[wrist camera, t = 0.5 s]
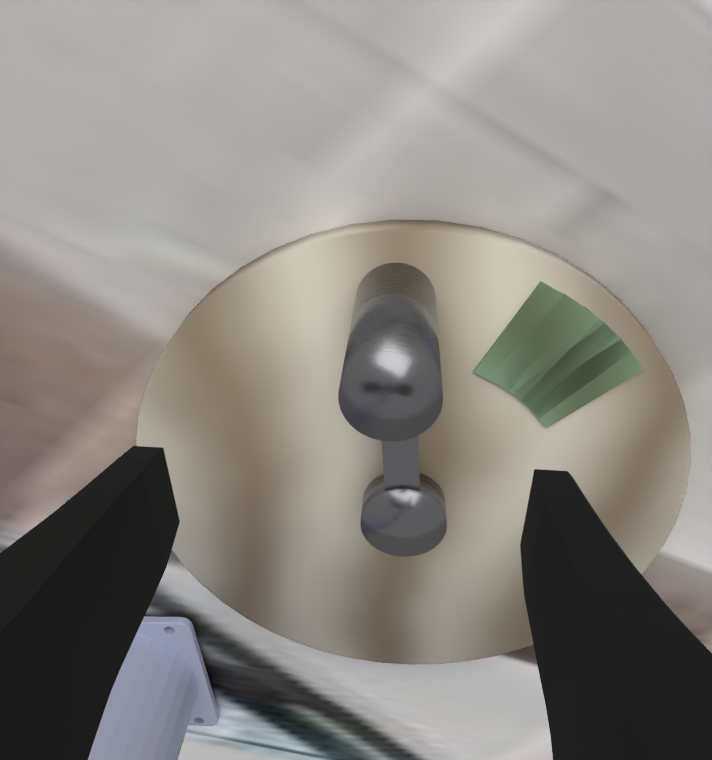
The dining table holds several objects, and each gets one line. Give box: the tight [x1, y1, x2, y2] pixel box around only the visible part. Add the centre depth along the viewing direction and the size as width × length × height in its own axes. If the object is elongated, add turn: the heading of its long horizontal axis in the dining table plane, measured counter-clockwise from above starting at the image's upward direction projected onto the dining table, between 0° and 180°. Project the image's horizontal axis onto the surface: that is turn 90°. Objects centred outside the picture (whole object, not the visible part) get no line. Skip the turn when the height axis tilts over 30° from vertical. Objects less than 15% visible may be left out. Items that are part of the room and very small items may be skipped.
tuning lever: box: [338, 263, 447, 557], centre depth 19 cm, size 11×3×6 cm, turn 4°
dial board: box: [136, 220, 691, 664], centre depth 25 cm, size 20×20×1 cm
